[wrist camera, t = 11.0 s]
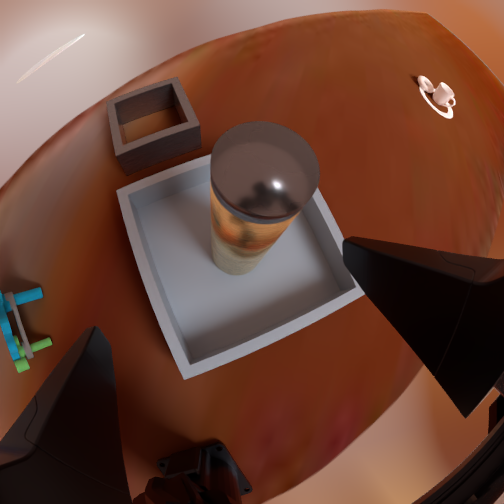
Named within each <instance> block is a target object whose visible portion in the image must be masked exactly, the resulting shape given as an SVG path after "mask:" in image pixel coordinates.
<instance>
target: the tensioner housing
mask: <svg viewBox="0 0 504 504" xmlns="http://www.w3.org/2000/svg"><path fill="white" fill-rule="evenodd" d="M106 104H107V111H108V117H109V123H110V129H111V134H112V140H113V145H114V150H115V155H116V157H117V159H118V161H119V163H120V165H121V166H122V168H123V170H124V172H125V173H126V175H130V174H132V173H135V172H137V171H139V170H142V169H144V168H147V167H149V166H152V165H154V164H157V163H160V162H162V161H165V160H168V159H170V158H173V157H176V156H179V155H181V154H184V153H187V152H190V151H193V150H196V149H199V148H201V134H200V124H199V122H198V120H197V118H196V115H195V113H194V111H193V109H192V107H191V105H190V102H189V100H188V98H187V96H186V94H185V92H184V90H183V87H182V85H181V83H180V81H179V79H178V77H175V78H171V79H168V80H164V81H161V82H158V83H155V84H152V85H149V86H146V87H143V88H140V89H137V90H135V91H132V92H129V93H127V94H124V95H122V96H119V97H117V98H114V99H112V100H110V101H107V102H106ZM172 106H175V107H176V110H177V112H178V114H179V117H180V119H181V122H182V124H179V125H176V126H173V127H170V128H167V129H165V130H162V131H159V132H156V133H153V134H151V135H148V136H146V137H143V138H140V139H138V140H135V141H133V142H130V143H128V144H127V141H126V137H125V133H124V128H123V124H125V123H128V122H130V121H133V120H135V119H138V118H141V117H143V116H146V115H149V114H151V113H154V112H157V111H160V110H163V109H166V108H169V107H172Z"/></svg>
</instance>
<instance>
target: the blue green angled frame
mask: <svg viewBox="0 0 504 504" xmlns="http://www.w3.org/2000/svg"><path fill="white" fill-rule="evenodd" d="M40 298H43V294H42V290H41V288H40V287H38V288H35V289H31V290H28V291H24V292H21V293H17V294H14V295H13V293H12V292H8V293H5V294H1V291H0V325H1V328H2V332H3V335H4V337H5V340H6V343H7V346H8V349H9V351H10V354H11V356H12V359H13V361H14V364H15V366H16V368H17V371H18V373H20V372H23V371H25V370H28V369H30V367H29V365H28V363H27V360H26V358H25V357H27V359H31V358H33V357H34V356H33V353H32V352H35V351H37V350H40V349H43V348H45V347H48V346H50V345H52V342H51V339H50V337H49V338H46V339H43V340H40V341H38V342H35V343H32V344H30V345H29V342H28V340H27V337H26V334H25V331H24V329H23V326H22V323H21V320H20V316H19V313H18V310H17V307H16V306H17V305H20V304H23V303H27V302H30V301H33V300H37V299H40ZM9 311H13V314H14V317H15V320H16V323H17V326H18V329H19V332H20V335H21V338H22V340H23V342H21V345H22V346H20V344H19V341H18V338H17V336H16V335H15V336H13V335H12V331H11V327H10V324H9V321H8V318H7V312H9ZM18 352H19V353H18ZM19 354H20V356H19ZM20 357H21V358H20ZM16 360H17V361H16Z"/></svg>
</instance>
